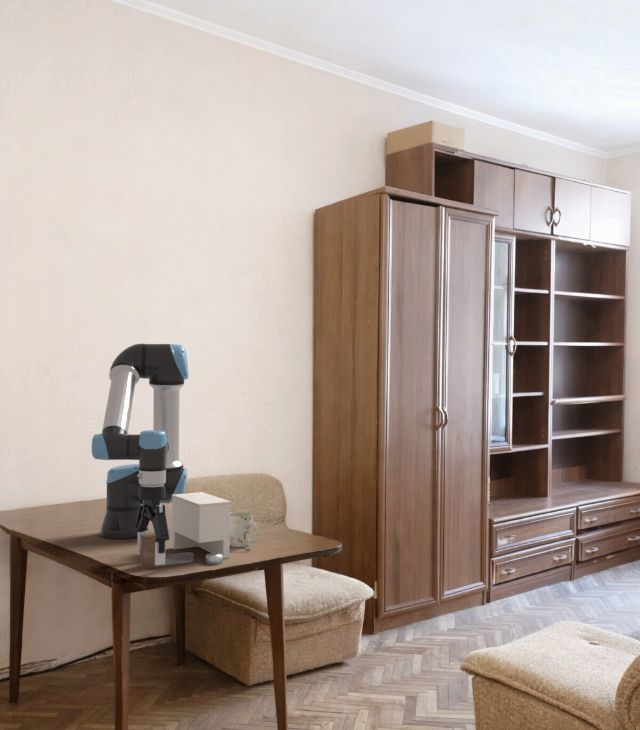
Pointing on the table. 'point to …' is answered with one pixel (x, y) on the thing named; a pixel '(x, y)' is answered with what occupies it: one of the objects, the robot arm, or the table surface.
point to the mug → (242, 529)
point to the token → (214, 558)
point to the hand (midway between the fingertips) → (150, 559)
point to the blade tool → (149, 554)
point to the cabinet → (201, 522)
